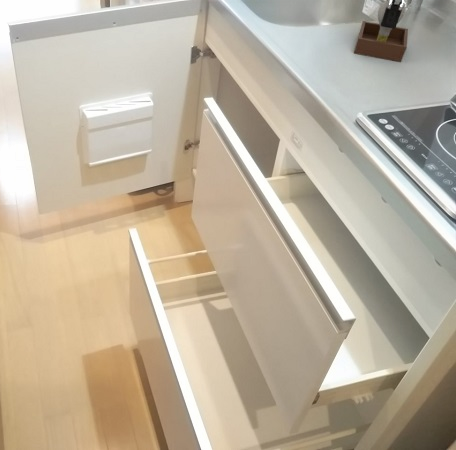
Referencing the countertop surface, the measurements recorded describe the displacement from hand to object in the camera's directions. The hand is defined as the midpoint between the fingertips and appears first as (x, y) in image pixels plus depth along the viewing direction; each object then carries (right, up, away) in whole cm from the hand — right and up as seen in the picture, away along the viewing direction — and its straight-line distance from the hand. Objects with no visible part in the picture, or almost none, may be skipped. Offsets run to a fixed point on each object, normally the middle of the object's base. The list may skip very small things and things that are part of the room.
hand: (389, 19), depth 117 cm
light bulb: (0, -4, +4) cm, 6 cm away
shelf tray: (0, -5, +5) cm, 7 cm away
